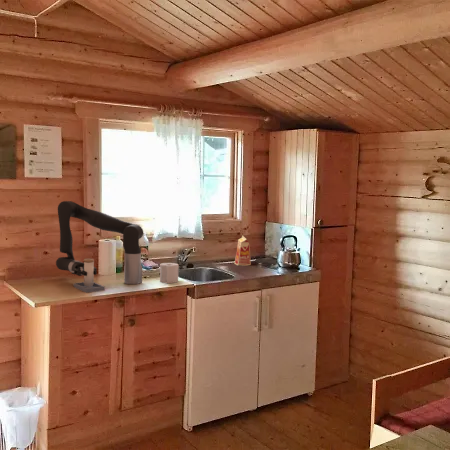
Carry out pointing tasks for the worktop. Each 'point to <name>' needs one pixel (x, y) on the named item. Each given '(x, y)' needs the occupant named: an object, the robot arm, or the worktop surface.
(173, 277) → the toilet tissue
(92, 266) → the canister
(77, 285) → the dish
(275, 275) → the worktop surface
